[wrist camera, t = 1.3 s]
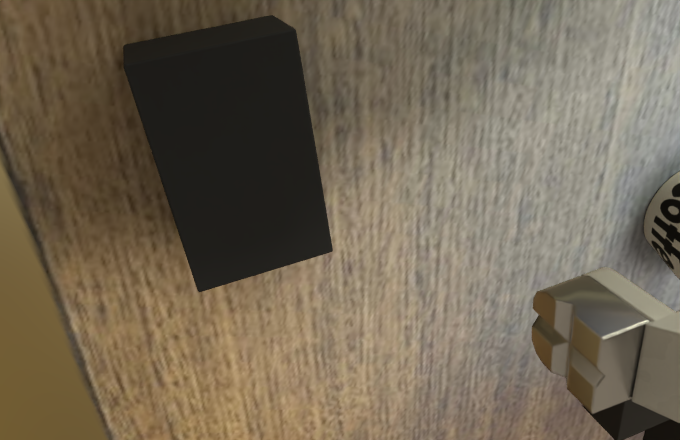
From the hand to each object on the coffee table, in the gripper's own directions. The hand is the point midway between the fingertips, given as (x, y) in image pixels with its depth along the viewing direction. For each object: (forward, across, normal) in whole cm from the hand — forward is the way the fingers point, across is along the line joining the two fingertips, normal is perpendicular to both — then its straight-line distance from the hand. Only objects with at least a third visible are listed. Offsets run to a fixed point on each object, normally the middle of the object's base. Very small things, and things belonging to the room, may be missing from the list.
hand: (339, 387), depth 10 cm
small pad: (+13, 0, 0) cm, 13 cm away
